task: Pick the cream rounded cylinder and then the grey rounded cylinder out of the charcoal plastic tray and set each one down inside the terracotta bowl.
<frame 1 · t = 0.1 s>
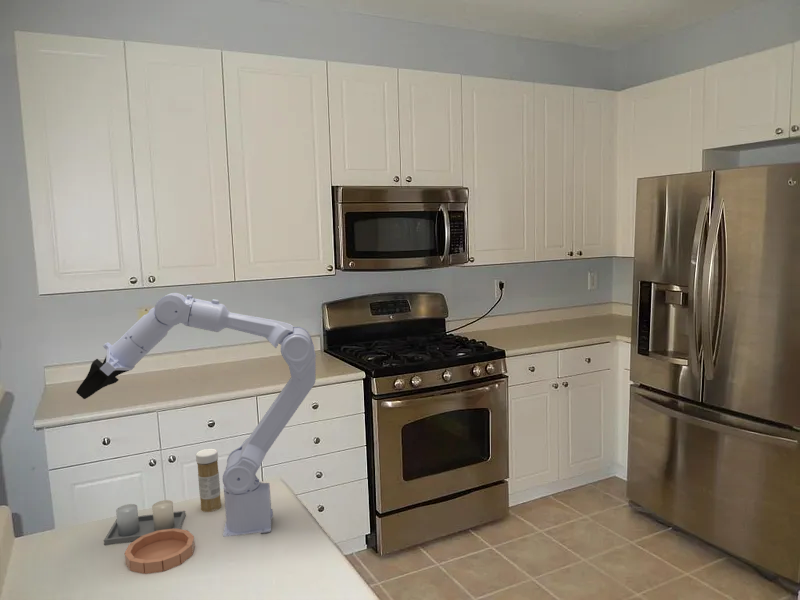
hand: (87, 389, 115), 32 cm above the countertop, tool tilted 50°, fingers open, 7 cm apart
cream rounded cylinder: (164, 527, 124), resting on tray
tray: (147, 531, 123), on the countertop
sprinkles bottle: (211, 510, 132), on the countertop
grey rounded cylinder: (128, 531, 122), resting on tray
bowl: (161, 557, 113), on the countertop
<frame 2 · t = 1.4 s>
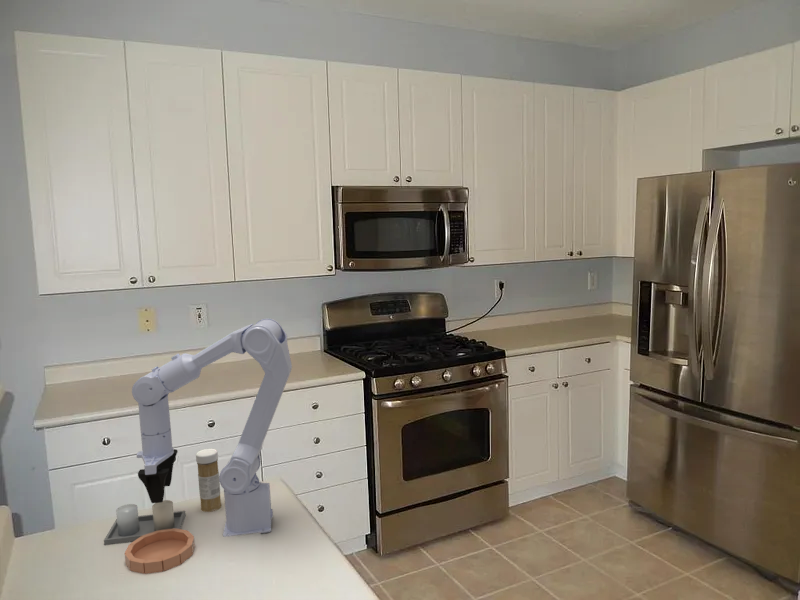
hand: (161, 493, 123), 8 cm above the countertop, tool pointing down, fingers open, 7 cm apart
nothing on the countertop moved.
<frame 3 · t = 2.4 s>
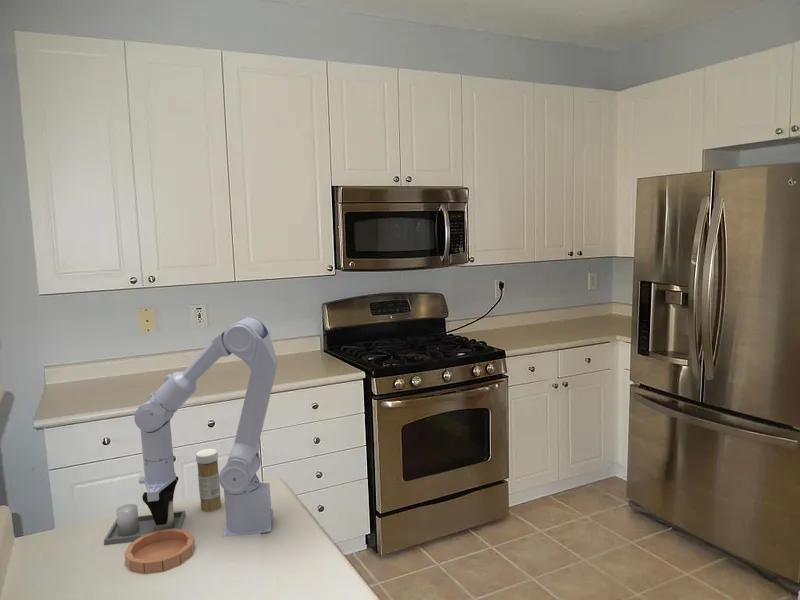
hand: (163, 518, 123), 2 cm above the countertop, tool pointing down, fingers closed on cream rounded cylinder, 4 cm apart
cream rounded cylinder: (164, 527, 124), resting on tray, touching gripper
everything else where it was.
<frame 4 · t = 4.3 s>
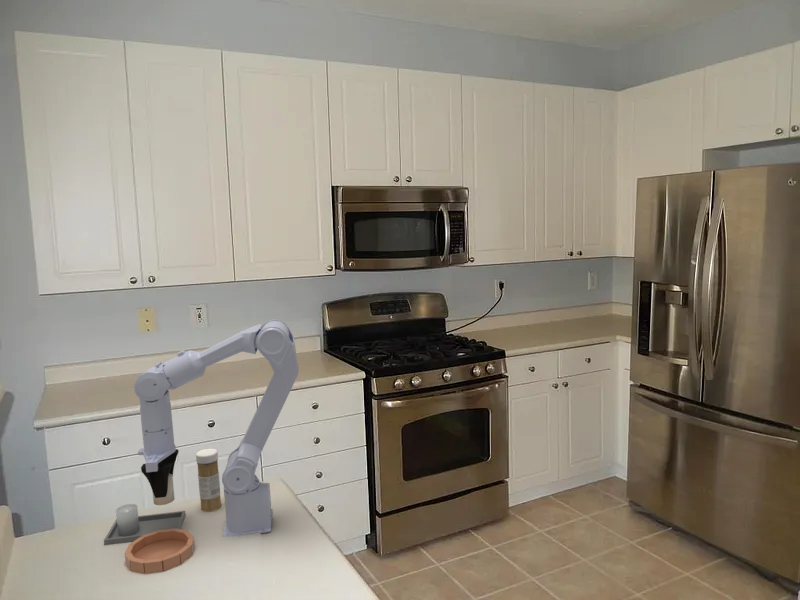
hand: (163, 491, 120), 9 cm above the countertop, tool pointing down, fingers closed on cream rounded cylinder, 4 cm apart
cream rounded cylinder: (164, 500, 120), point 7 cm above the countertop, touching gripper
everything else where it was.
when the fingers open (4 cm above the countertop, at t = 6.3 s): cream rounded cylinder stays where it is, resting on bowl.
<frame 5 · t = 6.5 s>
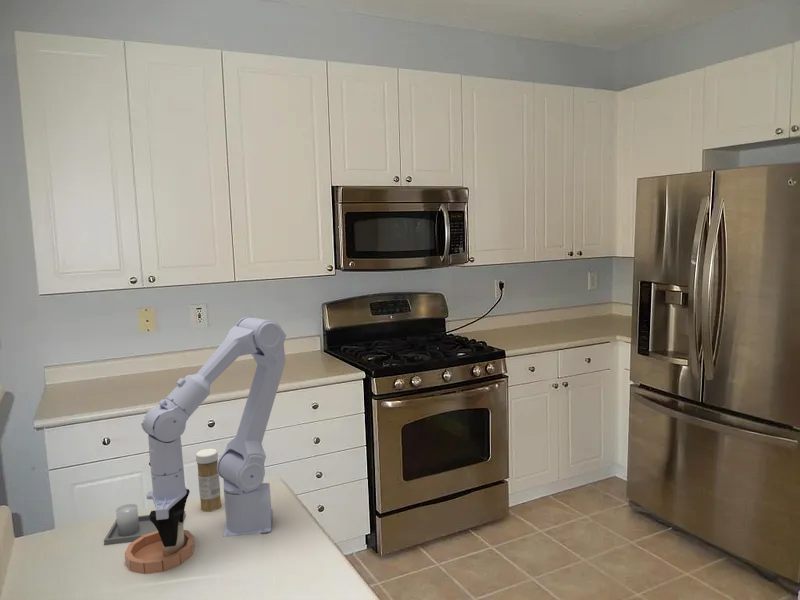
hand: (173, 537, 113), 4 cm above the countertop, tool pointing down, fingers open, 5 cm apart
cream rounded cylinder: (174, 551, 114), point 1 cm above the countertop, touching bowl
everything else where it was.
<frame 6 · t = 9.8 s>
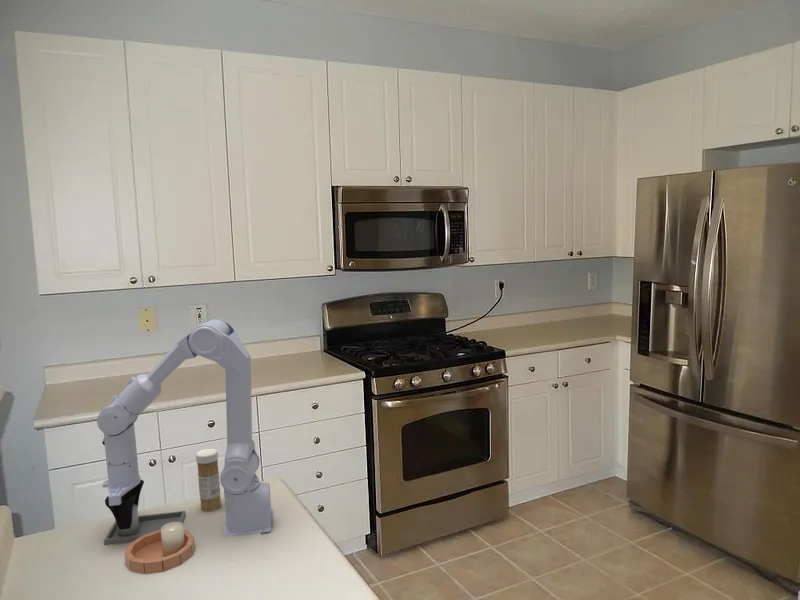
hand: (128, 522, 122), 2 cm above the countertop, tool pointing down, fingers closed on grey rounded cylinder, 4 cm apart
grey rounded cylinder: (128, 531, 122), point 1 cm above the countertop, touching gripper, tray
everything else where it was.
when the fingers open (4 cm above the countertop, at t = 13.6 s): grey rounded cylinder stays where it is, resting on bowl.
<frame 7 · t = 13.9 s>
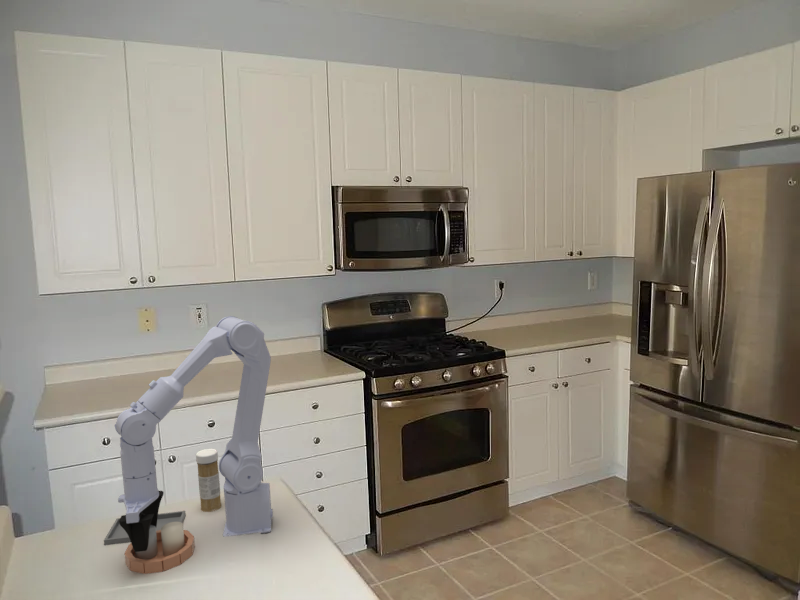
hand: (145, 540, 112), 4 cm above the countertop, tool pointing down, fingers open, 6 cm apart
grey rounded cylinder: (146, 554, 113), point 1 cm above the countertop, touching bowl
everything else where it was.
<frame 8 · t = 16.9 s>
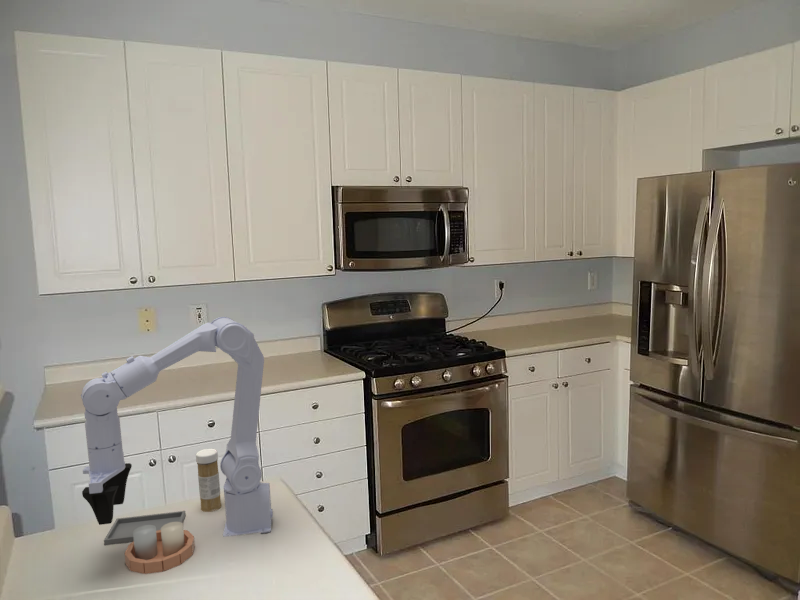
hand: (111, 513, 110), 10 cm above the countertop, tool pointing down, fingers open, 7 cm apart
nothing on the countertop moved.
at the end: cream rounded cylinder inside the target area on the bowl (2.4 cm from its centre), point 0.8 cm above the bowl's base; grey rounded cylinder inside the target area on the bowl (2.6 cm from its centre), point 0.8 cm above the bowl's base; the gripper is holding nothing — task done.
